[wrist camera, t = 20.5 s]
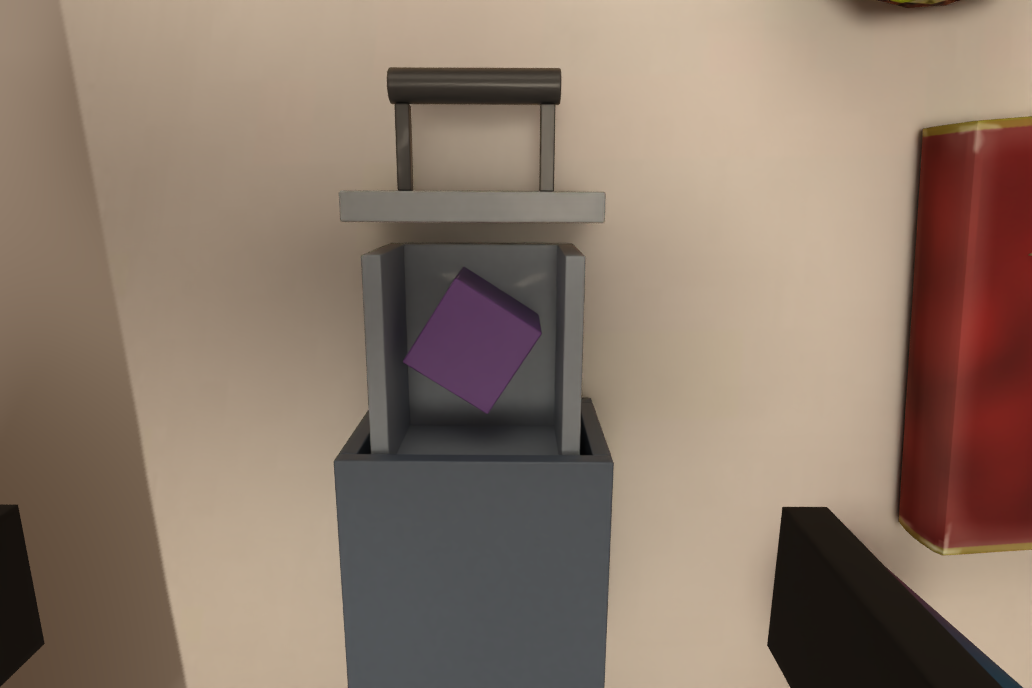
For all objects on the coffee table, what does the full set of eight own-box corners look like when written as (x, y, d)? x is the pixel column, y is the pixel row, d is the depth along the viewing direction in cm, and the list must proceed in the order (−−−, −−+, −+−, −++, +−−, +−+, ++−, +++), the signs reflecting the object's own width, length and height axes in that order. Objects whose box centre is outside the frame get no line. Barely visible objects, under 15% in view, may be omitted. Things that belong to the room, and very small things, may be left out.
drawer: (370, 84, 31) (330, 54, 24) (590, 85, 31) (610, 55, 24) (385, 431, 35) (354, 487, 28) (580, 432, 35) (595, 488, 28)
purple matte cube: (417, 339, 32) (401, 362, 28) (463, 265, 32) (455, 277, 27) (491, 386, 33) (487, 415, 29) (539, 314, 32) (542, 333, 28)
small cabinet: (376, 396, 35) (332, 460, 27) (591, 397, 35) (613, 462, 27) (387, 617, 38) (350, 736, 30) (584, 618, 38) (602, 737, 30)
